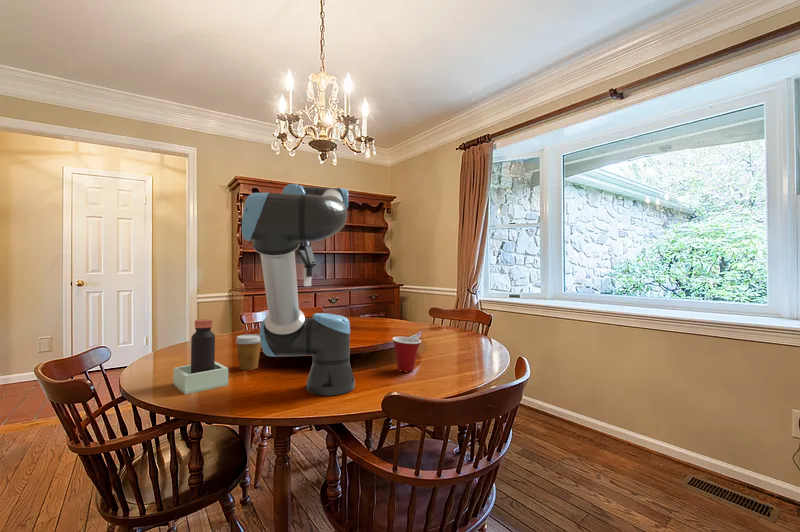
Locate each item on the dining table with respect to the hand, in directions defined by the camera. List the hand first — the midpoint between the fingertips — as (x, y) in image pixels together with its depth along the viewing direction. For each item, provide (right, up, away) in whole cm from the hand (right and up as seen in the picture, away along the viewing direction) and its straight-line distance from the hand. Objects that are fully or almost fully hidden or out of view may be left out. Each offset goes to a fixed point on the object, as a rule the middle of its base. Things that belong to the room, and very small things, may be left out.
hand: (296, 285), depth 136 cm
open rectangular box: (-26, -31, -18) cm, 44 cm away
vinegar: (-25, -31, -18) cm, 44 cm away
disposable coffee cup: (-19, -32, +2) cm, 37 cm away
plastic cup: (+41, -32, +1) cm, 52 cm away
